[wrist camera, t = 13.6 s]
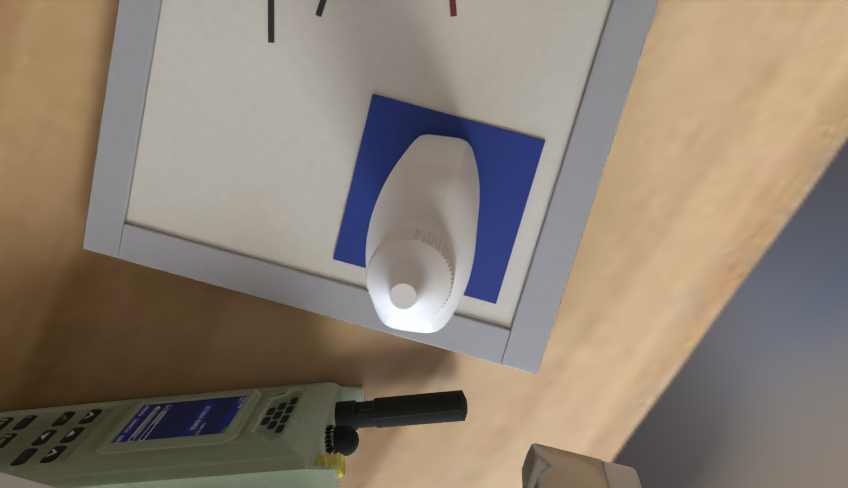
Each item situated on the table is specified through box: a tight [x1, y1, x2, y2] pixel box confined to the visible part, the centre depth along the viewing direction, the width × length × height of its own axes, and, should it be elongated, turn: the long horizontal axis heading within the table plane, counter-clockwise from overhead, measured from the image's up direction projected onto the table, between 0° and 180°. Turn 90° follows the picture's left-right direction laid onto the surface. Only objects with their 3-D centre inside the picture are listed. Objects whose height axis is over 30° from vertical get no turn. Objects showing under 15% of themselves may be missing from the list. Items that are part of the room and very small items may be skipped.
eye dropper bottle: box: [365, 134, 480, 333], centre depth 26 cm, size 4×6×12 cm
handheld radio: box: [0, 382, 467, 488], centre depth 33 cm, size 7×3×25 cm
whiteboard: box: [83, 0, 659, 374], centre depth 31 cm, size 20×20×1 cm
